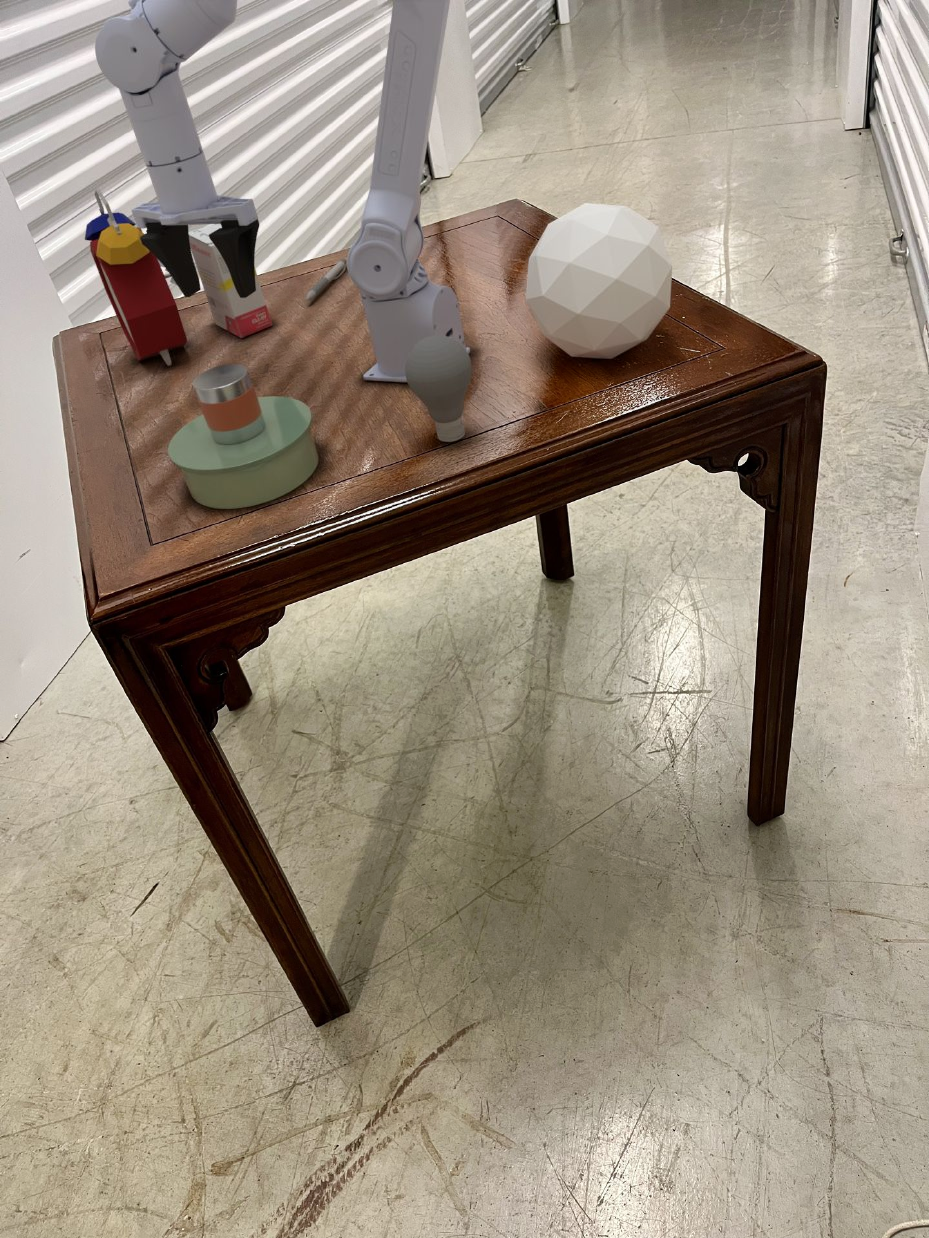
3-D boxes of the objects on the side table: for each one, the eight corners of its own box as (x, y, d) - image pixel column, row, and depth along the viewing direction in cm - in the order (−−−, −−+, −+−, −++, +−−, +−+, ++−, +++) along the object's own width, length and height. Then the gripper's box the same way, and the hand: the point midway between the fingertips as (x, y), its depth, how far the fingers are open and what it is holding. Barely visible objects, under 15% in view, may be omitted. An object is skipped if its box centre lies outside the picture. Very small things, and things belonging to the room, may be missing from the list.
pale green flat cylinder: (350, 442, 92) (338, 400, 89) (271, 520, 83) (255, 476, 80) (240, 432, 98) (226, 392, 95) (156, 503, 89) (137, 462, 86)
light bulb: (408, 445, 89) (385, 345, 83) (453, 418, 92) (433, 319, 86) (451, 461, 86) (430, 358, 79) (496, 432, 88) (479, 330, 82)
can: (260, 412, 90) (241, 358, 87) (271, 433, 86) (252, 377, 83) (208, 429, 89) (188, 375, 86) (217, 451, 85) (196, 395, 82)
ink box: (274, 326, 120) (246, 231, 113) (240, 340, 118) (208, 244, 111) (248, 311, 126) (218, 220, 119) (214, 324, 124) (182, 232, 117)
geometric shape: (618, 376, 104) (670, 239, 101) (655, 384, 90) (718, 224, 86) (497, 331, 102) (546, 189, 98) (516, 332, 88) (574, 165, 84)
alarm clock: (126, 344, 124) (60, 184, 111) (188, 323, 126) (131, 164, 114) (149, 380, 113) (79, 207, 100) (217, 356, 115) (157, 184, 103)
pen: (350, 266, 133) (347, 256, 132) (312, 306, 123) (309, 295, 122) (343, 266, 133) (341, 256, 133) (305, 306, 123) (302, 296, 123)
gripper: (93, 174, 93) (145, 308, 101) (206, 166, 86) (252, 310, 95) (140, 152, 97) (186, 282, 106) (251, 144, 91) (290, 282, 99)
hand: (220, 293), depth 101 cm, fingers open, 7 cm apart
